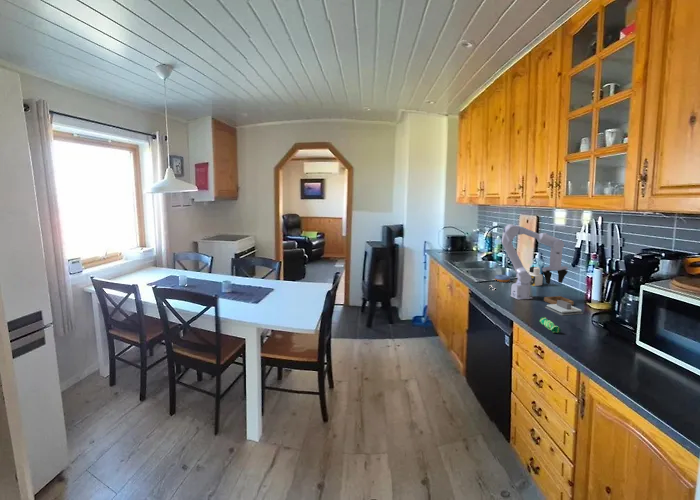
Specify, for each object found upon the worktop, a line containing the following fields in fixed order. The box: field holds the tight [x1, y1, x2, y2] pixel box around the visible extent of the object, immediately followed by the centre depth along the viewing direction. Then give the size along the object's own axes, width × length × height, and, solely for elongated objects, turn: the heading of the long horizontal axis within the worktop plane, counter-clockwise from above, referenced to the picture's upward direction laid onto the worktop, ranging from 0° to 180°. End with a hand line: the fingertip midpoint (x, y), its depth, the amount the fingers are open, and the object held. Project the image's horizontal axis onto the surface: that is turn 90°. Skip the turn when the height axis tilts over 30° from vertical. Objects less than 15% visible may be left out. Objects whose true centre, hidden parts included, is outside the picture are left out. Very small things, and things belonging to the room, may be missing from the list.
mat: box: [545, 306, 584, 316], centre depth 178 cm, size 12×12×1 cm
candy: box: [538, 316, 561, 334], centre depth 155 cm, size 12×3×4 cm
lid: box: [546, 300, 582, 313], centre depth 178 cm, size 11×11×4 cm
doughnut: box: [494, 274, 511, 283], centre depth 241 cm, size 10×10×5 cm
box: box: [543, 295, 574, 307], centre depth 190 cm, size 10×10×2 cm
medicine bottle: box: [528, 266, 544, 287], centre depth 229 cm, size 7×7×12 cm
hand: (554, 283), depth 197 cm, fingers open, 7 cm apart
